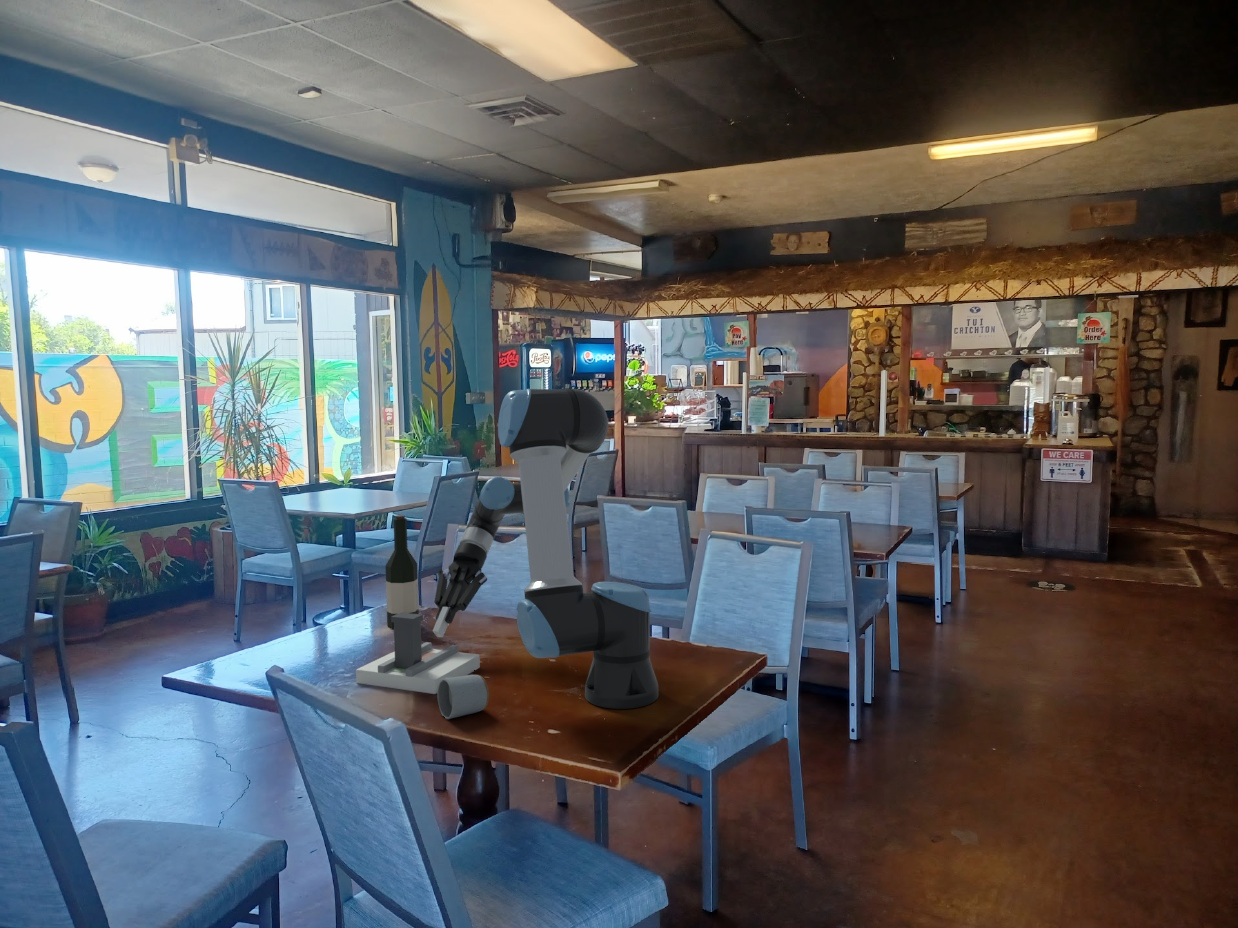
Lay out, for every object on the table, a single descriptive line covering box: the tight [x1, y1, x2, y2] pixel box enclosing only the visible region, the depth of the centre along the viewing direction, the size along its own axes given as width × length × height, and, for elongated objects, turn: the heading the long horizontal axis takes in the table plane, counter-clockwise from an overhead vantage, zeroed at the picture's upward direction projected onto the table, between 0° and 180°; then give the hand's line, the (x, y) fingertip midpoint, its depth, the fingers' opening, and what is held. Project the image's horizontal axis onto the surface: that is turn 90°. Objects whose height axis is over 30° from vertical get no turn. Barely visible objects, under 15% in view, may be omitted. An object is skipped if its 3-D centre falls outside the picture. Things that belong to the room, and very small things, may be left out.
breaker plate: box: [355, 641, 481, 695], centre depth 184 cm, size 20×18×4 cm
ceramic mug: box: [436, 674, 490, 720], centre depth 163 cm, size 11×8×8 cm
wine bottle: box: [385, 514, 420, 630], centre depth 224 cm, size 8×8×30 cm
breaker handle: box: [391, 613, 424, 668], centre depth 180 cm, size 6×4×11 cm, turn 69°
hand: (437, 634), depth 191 cm, fingers closed
